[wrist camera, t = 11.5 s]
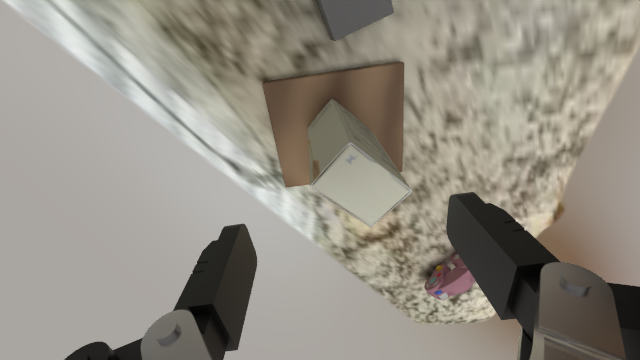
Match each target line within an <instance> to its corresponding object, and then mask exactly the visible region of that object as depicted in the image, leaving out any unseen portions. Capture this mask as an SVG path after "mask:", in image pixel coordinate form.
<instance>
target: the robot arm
mask: <svg viewBox="0 0 640 360" xmlns="http://www.w3.org/2000/svg"><path fill="white" fill-rule="evenodd" d="M446 228H447V235H448V238H449V240H450V242H451V244H452V246H453V247H454V249H455V250H456V252H457V253H458V255H459V256H460V258H461V259H462V261H463V262H464V264H465V265H466V267H467V268H468V270H469V271H470V273H471V274H472V276H473V277H474V279H475V280H476V282H477V284H478V285H479V287H480V288H481V290H482V291H483V293H484V294H485V296H486V297H487V299H488V300H489V302H490V303H491V305H492V306H493V308H494V309H495V311H496V312H497V314H498V315H499V317H500V318H501V320H507V319H515V318H516V319H517V320H518V322H519V323H520V325H521V329H520V333H519V344H518V355H517V360H640V287H636V286H630V285H622V284H613V283H606V282H605V281H604V280H603V279H602V278H601V277H599V276H598V275H596V274H595V273H593V272H591V271H590V270H587V269H585V268H583V267H580V266H577V265H574V264H570V263H564V262H560V261H559V260H558V259H557V258H556V257H555V256H553V255H552V254H551V253H550V252H549V251H548V250H547V249H546V248H545V247H544V246H543V245H542V244H541V243H539V242H538V241H537V240H536V239H535V238H534V237H533V236H532V235H531V234H530V233H529V232H528V231H527V230H526V231H525V230H524V228H523V227H522V226H521V225H520V224H519V223H518V222H516V221H515V219H514V218H513V217H511V216H510V215H509V214H508V213H507V212H506V211H505V210H503V209H501V208H499V207H497V206H495V205H493V204H491V203H488V204H485V203H484V202H483V201H482V200H481V199H480V198H479V197H478V196H477V195H476V194H475V193H474V192H469V193H462V194H455V195H451V196H450V198H449V206H448V216H447V227H446ZM256 267H257V256H256V251H255V249H254V246H253V243H252V241H251V238H250V235H249V232H248V229H247V227H246V225H245V224H238V225H231V226H225V227H224V228H223V230H222V232H221V234H220V236H219V239H218V240H216V241H212V242H211V243H210V244H209V245H208V246H207V247H206V248H205V249H204V250H203V251H202V253H201V256H200V258H199V259H198V261H197V265H196V266H195V268H194V270H193V274H191V276H190V278H189V280H188V282H187V284H186V286H185V288H184V290H183V292H182V294H181V296H180V298H179V300H178V302H177V304H176V306H175V308H174V310H173V311H172V312H170V313H167V314H166V315H164V316H162V317H161V318H159V319H158V320H157V321H156V322H154V323H153V324H152V325H151V327H150V328H149V329H148V330H147V332H146V333H145V335H144V337H143V338H141V339H139V340H137V341H134V342H132V343H129V344H127V345H125V346H122V347H120V348H117V349H115V350H112V349H111V348H110V347H109V346H108V345H107V344H106V343H104V342H94V343H90V344H88V345H85V346H83V347H81V348H80V349H78V350H76V351H75V352H73V353H72V354H71V355H69V356H68V357H67V358H66V359H65V360H223V358H224V355H225V351H233V350H238V346H239V341H240V337H241V333H242V328H243V324H244V320H245V315H246V311H247V307H248V303H249V298H250V294H251V289H252V285H253V281H254V277H255V272H256Z"/></svg>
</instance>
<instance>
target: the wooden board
mask: <svg viewBox="0 0 640 360" xmlns="http://www.w3.org/2000/svg"><path fill="white" fill-rule="evenodd" d="M262 85H263V89H264V94H265V98H266V102H267V107H268V111H269V116H270V120H271V124H272V129H273V133H274V137H275V142H276V146H277V151H278V155H279V159H280V164H281V168H282V173H283V177H284V181H285V186H286V187H293V186H300V185H308V184H310V167H309V151H308V134H307V128H308V126H309V125H310V124H311V122H312V121H313V120H314V119H315V117H316V116H317V115H318V114H319V113H320V111H321V110H322V109H323V108H324V107H325V105H326V104H327V103H328V102H329V101H330V100H331V99H334V100H335V101H336V102H338V103H339V104H340V105H342V106H343V107H344V108H345V109H347V110H348V111H349V112H350V113H351V114H353V115H354V116H355V117H356V118H357V119H359V120H360V121H361V122H362V123H363V124H364V125H365V126H367V127H368V128H369V129H370V130H371V131H372V132H373V133H374V135H375V136H376V138H377V139H378V141H379V142H380V144H381V145H382V147H383V148H384V150H385V151H386V153H387V154H388V156H389V157H390V159H391V160H392V162H393V163H394V165H395V166H396V168H397V169H398V171H399V172H402V157H403V100H404V63H403V62H400V61H399V62H392V63H386V64H379V65H372V66H365V67H359V68H352V69H345V70H338V71H332V72H325V73H318V74H311V75H305V76H298V77H291V78H284V79H278V80H271V81H264V83H263V84H262Z"/></svg>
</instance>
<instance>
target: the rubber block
mask: <svg viewBox="0 0 640 360" xmlns="http://www.w3.org/2000/svg"><path fill="white" fill-rule="evenodd" d="M317 3H318V6H319V8H320V11H321V14H322V17H323V19H324V22H325V25H326V28H327V30H328V33H329V36H330V39H331V40H334V41H336V40H338V39H340V38H342V37H344V36H346V35H348V34H350V33H352V32H354V31H357V30H359V29H361V28H363V27H365V26H367V25H369V24H371V23H373V22H375V21H377V20H380V19H382V18H384V17H386V16H388V15H390V14H392V13H394V11H393V7H392V3H391V0H317Z"/></svg>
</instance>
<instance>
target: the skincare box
mask: <svg viewBox="0 0 640 360" xmlns="http://www.w3.org/2000/svg"><path fill="white" fill-rule="evenodd" d="M307 134H308V151H309V167H310V186H311V188H312V189H314V190H315V191H316V192H317V193H319V194H320V195H322V196H323V197H324V198H326V199H327V200H329V201H330V202H332V203H333V204H335V205H336V206H338V207H339V208H341V209H342V210H344V211H345V212H347V213H349V214H350V215H352V216H353V217H355V218H357V219H358V220H360V221H361V222H363V223H365V224H367V225H368V226H370V227H371V226H373V225H374V224H375V223H376V222H378V221H379V220H380V219H381V218H382V217H384V216H385V215H386V214H387V213H389V212H390V211H391V210H392V209H393V208H394V207H395V206H397V205H398V204H399V203H400V202H401V201H402V200H404V199H405V198H406V197H407V196H408V195H409V194H411V188H410V187H409V186H408V184H407V183H406V181H405V180H404V178H403V177H402V175H401V174H400V172H399V171H398V169H397V168H396V166H395V165H394V163H393V162H392V160H391V159H390V157H389V156H388V154H387V153H386V151H385V150H384V148H383V147H382V145H381V144H380V142H379V141H378V139H377V138H376V136H375V135H374V133H373V132H372V131H371V130H370V129H369V128H368V127H367V126H365V125H364V124H363V123H362V122H361V121H360V120H359V119H357V118H356V117H355V116H354V115H353V114H351V113H350V112H349V111H348V110H347V109H345V108H344V107H343V106H342V105H340V104H339V103H338V102H336V101H335V100H334V99H331V100H330V101H329V102H328V103H327V104H326V105H325V107H324V108H323V109H322V110H321V111H320V113H319V114H318V115H317V116H316V117H315V119H314V120H313V121H312V122H311V124H310V125H309V126H308V128H307Z"/></svg>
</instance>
